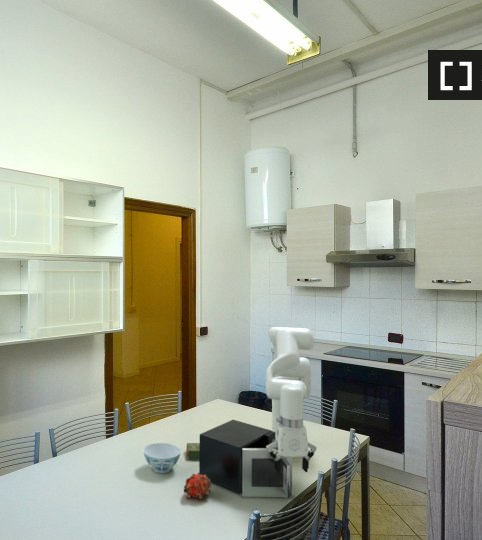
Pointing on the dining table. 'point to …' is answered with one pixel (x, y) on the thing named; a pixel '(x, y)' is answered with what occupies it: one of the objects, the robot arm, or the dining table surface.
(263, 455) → the microwave door
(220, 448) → the microwave
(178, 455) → the chinaware
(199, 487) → the dragon fruit
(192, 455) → the carton
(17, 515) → the dining table surface
